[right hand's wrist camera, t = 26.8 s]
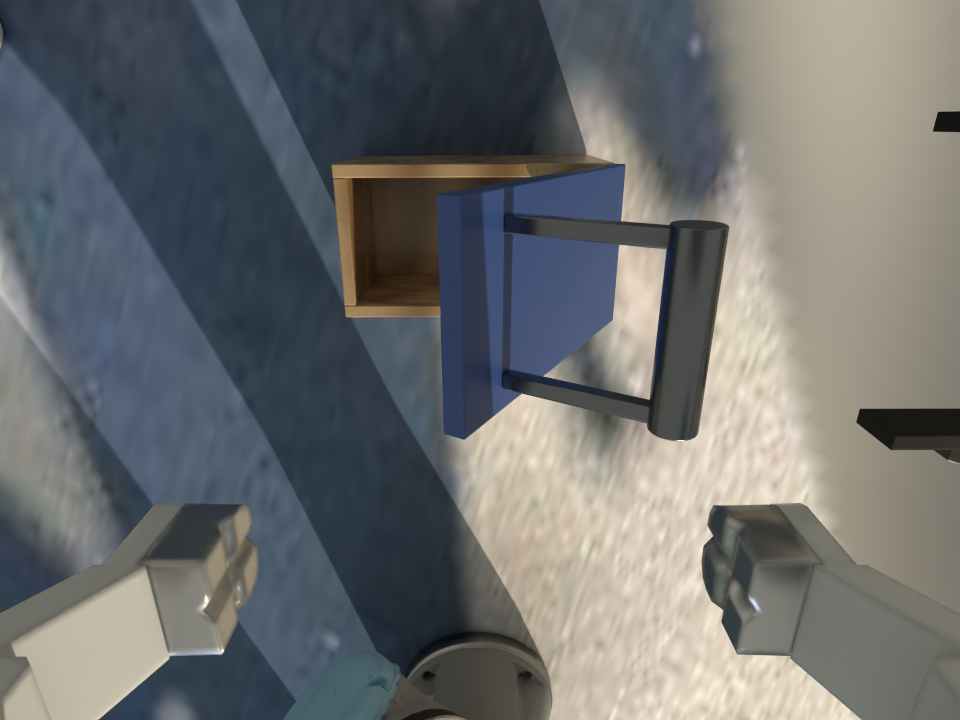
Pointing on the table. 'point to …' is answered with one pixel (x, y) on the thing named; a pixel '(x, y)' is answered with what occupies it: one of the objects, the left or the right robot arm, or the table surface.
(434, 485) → the table surface
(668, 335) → the lid
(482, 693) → the left robot arm
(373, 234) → the chest
